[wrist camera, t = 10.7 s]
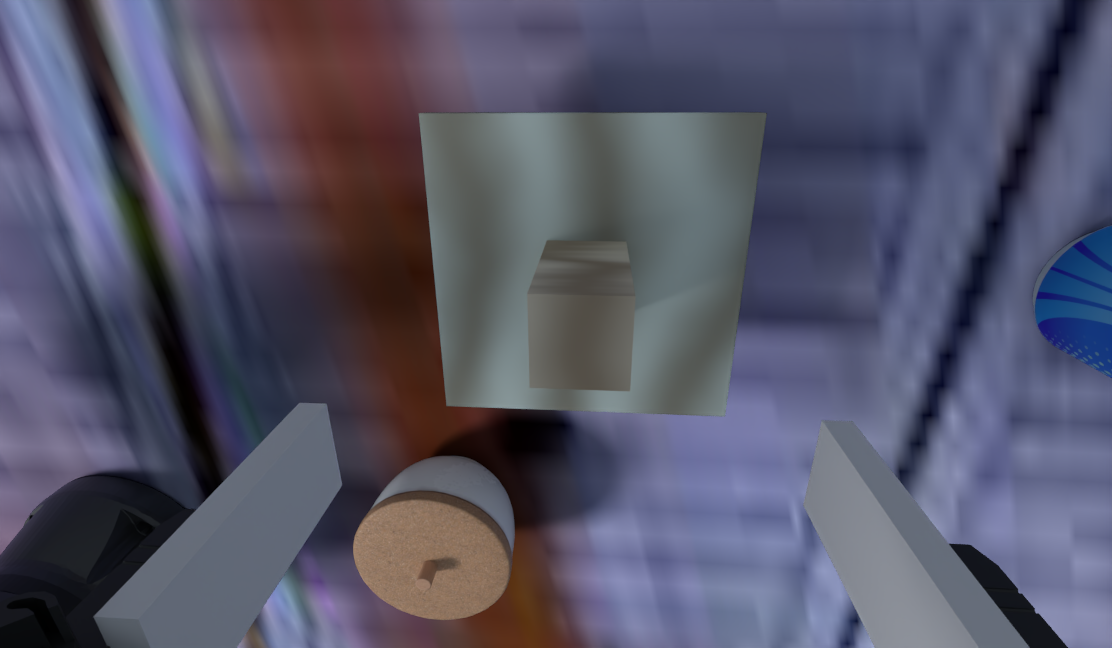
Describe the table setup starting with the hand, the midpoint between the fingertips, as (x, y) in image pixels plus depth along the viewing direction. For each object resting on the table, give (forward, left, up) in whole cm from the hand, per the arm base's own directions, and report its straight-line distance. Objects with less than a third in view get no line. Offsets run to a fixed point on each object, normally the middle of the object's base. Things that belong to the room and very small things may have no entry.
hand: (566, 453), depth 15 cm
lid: (0, 0, -16) cm, 16 cm away
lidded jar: (-10, -20, -22) cm, 31 cm away
